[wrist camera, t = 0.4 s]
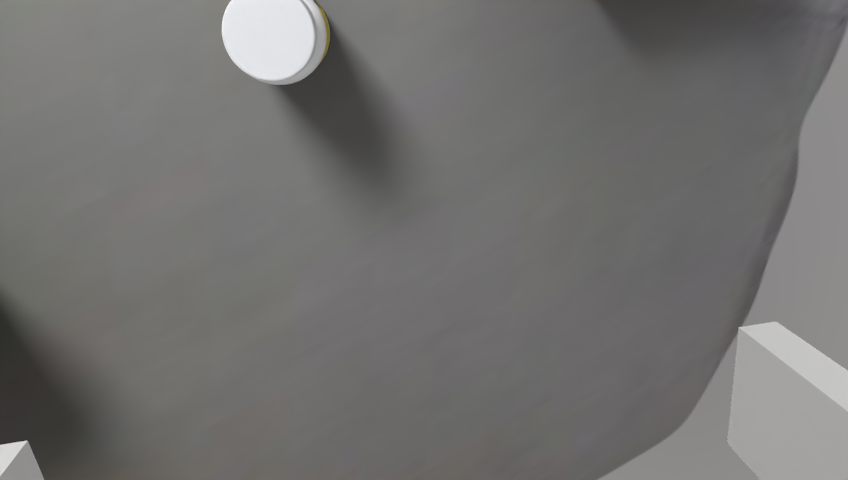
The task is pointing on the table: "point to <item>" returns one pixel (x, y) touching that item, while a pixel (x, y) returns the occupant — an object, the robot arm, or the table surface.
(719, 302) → the table surface
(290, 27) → the supplement bottle
